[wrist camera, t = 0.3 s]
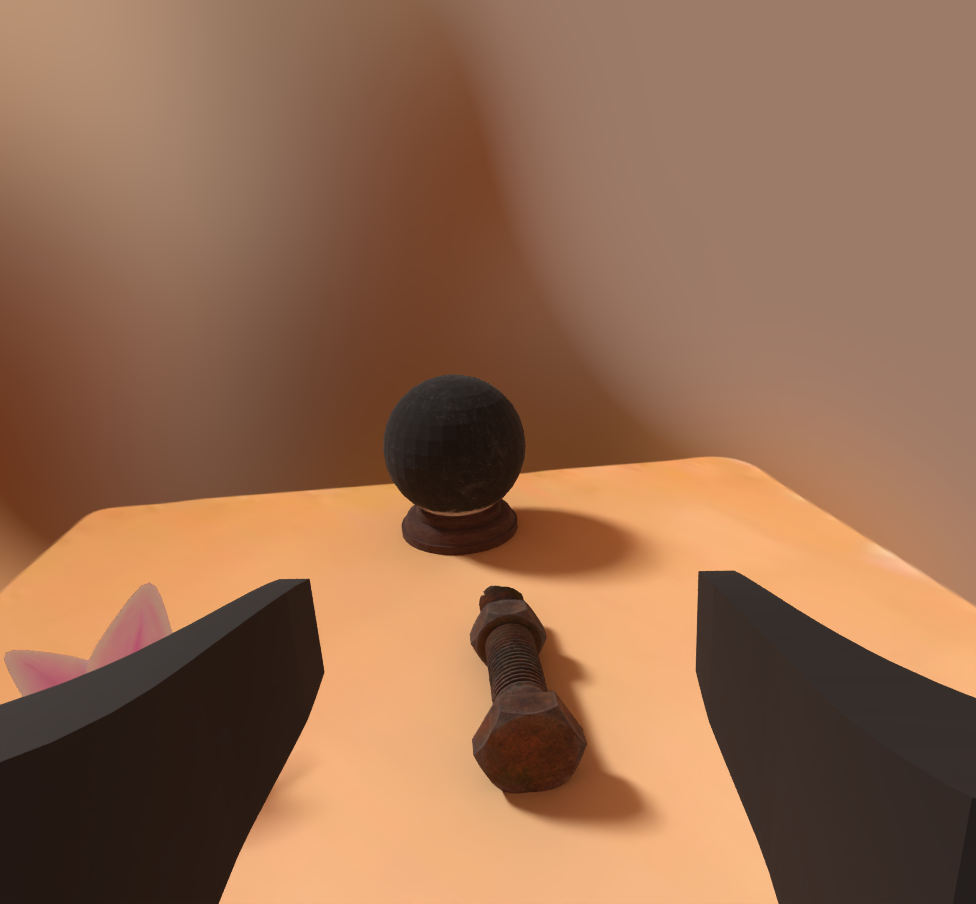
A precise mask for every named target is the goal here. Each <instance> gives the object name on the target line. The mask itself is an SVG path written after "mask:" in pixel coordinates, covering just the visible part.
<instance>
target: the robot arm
mask: <svg viewBox="0 0 976 904" xmlns="http://www.w3.org/2000/svg"><path fill="white" fill-rule="evenodd" d="M696 674H697V678H698V682H699V686H700V690H701V694H702V698H703V701H704V705H705V709H706V712H707V716H708V720H709V723H710V725H711V728H712V730H713V733H714V735H715V738H716V740H717V743H718V745H719V748H720V750H721V753H722V755H723V758H724V760H725V763H726V765H727V767H728V770H729V772H730V775H731V777H732V780H733V782H734V784H735V787H736V789H737V792H738V794H739V797H740V799H741V801H742V804H743V806H744V809H745V811H746V814H747V816H748V818H749V821H750V823H751V826H752V828H753V831H754V833H755V835H756V838H757V840H758V843H759V846H760V848H761V851H762V854H763V857H764V859H765V862H766V865H767V868H768V870H769V873H770V877H771V880H772V883H773V887H774V890H775V893H776V897H777V900H778V903H779V904H976V698H974V697H972V696H969V695H966V694H964V693H961V692H959V691H956V690H954V689H951V688H949V687H947V686H944V685H942V684H939V683H937V682H935V681H932V680H930V679H928V678H926V677H924V676H921V675H919V674H917V673H915V672H913V671H910V670H908V669H906V668H904V667H902V666H899V665H897V664H895V663H893V662H891V661H889V660H887V659H885V658H883V657H881V656H879V655H877V654H875V653H873V652H871V651H869V650H867V649H865V648H863V647H861V646H860V645H858V644H856V643H854V642H852V641H850V640H849V639H847V638H845V637H843V636H841V635H839V634H838V633H836V632H834V631H832V630H831V629H829V628H827V627H826V626H824V625H822V624H820V623H819V622H817V621H815V620H814V619H812V618H810V617H809V616H807V615H806V614H804V613H802V612H801V611H799V610H797V609H796V608H794V607H793V606H791V605H789V604H788V603H786V602H785V601H783V600H782V599H780V598H778V597H777V596H775V595H774V594H772V593H771V592H769V591H768V590H766V589H764V588H763V587H761V586H760V585H758V584H757V583H755V582H753V581H752V580H750V579H748V578H747V577H745V576H743V575H742V574H740V573H738V572H736V571H699V575H698V610H697V644H696ZM323 675H324V666H323V660H322V653H321V647H320V641H319V635H318V629H317V622H316V616H315V610H314V604H313V597H312V591H311V585H310V579H279V580H276V581H273V582H271V583H268V584H266V585H264V586H262V587H260V588H257V589H255V590H253V591H251V592H249V593H248V594H246V595H244V596H242V597H240V598H238V599H236V600H234V601H232V602H231V603H229V604H227V605H225V606H223V607H221V608H219V609H218V610H216V611H214V612H212V613H210V614H208V615H207V616H205V617H203V618H201V619H199V620H197V621H195V622H194V623H192V624H190V625H188V626H186V627H184V628H182V629H180V630H178V631H176V632H174V633H172V634H170V635H168V636H166V637H164V638H162V639H160V640H158V641H156V642H154V643H152V644H150V645H148V646H146V647H144V648H142V649H140V650H138V651H136V652H134V653H132V654H130V655H128V656H126V657H123V658H121V659H119V660H117V661H114V662H112V663H110V664H108V665H105V666H103V667H101V668H98V669H96V670H93V671H91V672H89V673H86V674H84V675H81V676H79V677H76V678H74V679H72V680H69V681H66V682H64V683H61V684H59V685H56V686H53V687H50V688H47V689H45V690H42V691H39V692H36V693H33V694H30V695H27V696H24V697H22V698H19V699H16V700H13V701H10V702H7V703H4V704H1V705H0V904H219V901H220V899H221V896H222V894H223V892H224V889H225V887H226V884H227V882H228V879H229V877H230V874H231V872H232V869H233V867H234V864H235V862H236V859H237V857H238V855H239V853H240V851H241V849H242V846H243V844H244V842H245V840H246V838H247V836H248V834H249V832H250V830H251V828H252V826H253V824H254V822H255V820H256V818H257V816H258V814H259V812H260V811H261V809H262V807H263V805H264V803H265V801H266V799H267V797H268V795H269V793H270V792H271V790H272V788H273V786H274V784H275V782H276V780H277V778H278V776H279V774H280V773H281V771H282V769H283V767H284V765H285V763H286V761H287V759H288V757H289V755H290V754H291V752H292V750H293V748H294V746H295V744H296V742H297V740H298V738H299V736H300V734H301V732H302V730H303V728H304V726H305V724H306V722H307V720H308V718H309V715H310V712H311V710H312V707H313V704H314V701H315V699H316V696H317V693H318V690H319V687H320V684H321V681H322V678H323Z"/></svg>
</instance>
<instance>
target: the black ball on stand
mask: <svg viewBox="0 0 976 904" xmlns="http://www.w3.org/2000/svg"><path fill="white" fill-rule="evenodd" d="M384 456H385V461H386V466H387V470H388V472H389V474H390V476H391V478H392V481H393V482H394V483H395V485H396V486H397V487H398V489H399V490H400V491H401V493H402V494H403V495H404V496H405V497H406V498H407V499H409V500H410V501H411V502H412V503H414V504H415V505H414V506H413V507H411V509H410V510H409V511H408V514H407V515H406V517H405V518H404V519H403V522H402V533H403V537H404V539H405V540H406V542H407V543H409V544H410V545H411V546H413V547H415V548H417V549H419V550H422V551H425V552H429V553H434V554H442V555H464V554H472V553H478V552H482V551H486V550H489V549H492V548H495V547H497V546H499V545H501V544H503V543H505V542H506V541H508V540H509V539H510V538H511V537H512V536H513V535H514V534H515V532H516V529H517V516H516V514H515V512H514V511H513V510H512V509H511V508H510V506H509V505H508V503H507V502H505V501H504V500H503V499H502V498H503V497H504V496H505V495H506V494H507V492H508V491H509V490H510V489H511V488H512V487H513V485H514V483H515V481H516V480H517V478H518V476H519V474H520V471H521V468H522V465H523V461H524V457H525V437H524V430H523V426H522V423H521V420H520V418H519V415H518V413H517V412H516V410H515V408H514V407H513V405H512V404H511V402H510V401H509V400H508V399H507V398H506V397H505V396H504V395H503V394H502V393H501V392H500V391H499V390H497V389H496V388H495V387H493V386H492V385H490V384H489V383H487V382H485V381H482V380H480V379H477V378H475V377H469V376H464V375H443V376H440V377H435V378H432V379H429V380H426V381H424V382H422V383H420V384H419V385H417V386H415V387H414V388H413V389H411V390H410V391H409V392H408V393H407V394H406V395H404V396H403V397H402V398H401V399H400V401H399V402H398V404H397V405H396V406H395V408H394V409H393V411H392V413H391V415H390V418H389V420H388V422H387V425H386V429H385V434H384Z"/></svg>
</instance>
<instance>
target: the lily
mask: <svg viewBox="0 0 976 904" xmlns="http://www.w3.org/2000/svg"><path fill="white" fill-rule="evenodd" d="M170 634H172V630H171V626H170V623H169V619H168V615H167V612H166V609H165V606H164V603H163V600H162V597H161V595H160V594H159V592H158V590H157V588H156V586H154V585H153V584H151V583H150V582H149V583H147V584H144V585H142V586H141V587H140V588H139V589H138V590H137V591H136V592H135V593H134V594H133V595H132V596H131V597H130V599H129V600H128V601H127V603H126V604H125V605H124V606H123V608H122V609H121V610H120V612H119V613H118V614H117V616H116V617H115V619H114V620H113V622H112V623H111V624H110V626H109V627H108V629H107V630H106V632H105V633H104V635H103V636H102V638H101V639H100V641H99V642H98V644H97V645H96V647H95V649H94V651H93V653H92V655H91V657H90V659H89V661H88V660H85V659H80V658H76V657H72V656H67V655H61V654H55V653H49V652H39V651H30V650H13V651H10V652H7V653H5V658H4V661H5V663H6V666H7V669H8V671H9V673H10V675H11V677H12V679H13V681H14V683H15V684H16V686H17V688H18V690H19V691H20V693H21V694H22V696H23V697H24V696H27V695H30V694H33V693H36V692H39V691H42V690H45V689H47V688H50V687H53V686H56V685H59V684H61V683H64V682H66V681H69V680H72V679H74V678H76V677H79V676H81V675H84V674H86V673H89V672H91V671H93V670H96V669H98V668H101V667H103V666H105V665H108V664H110V663H112V662H114V661H117V660H119V659H121V658H123V657H126V656H128V655H130V654H132V653H134V652H136V651H138V650H140V649H142V648H144V647H146V646H148V645H150V644H152V643H154V642H156V641H158V640H160V639H162V638H164V637H166V636H168V635H170Z"/></svg>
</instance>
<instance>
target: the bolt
mask: <svg viewBox="0 0 976 904" xmlns="http://www.w3.org/2000/svg"><path fill="white" fill-rule="evenodd" d="M484 594H485V596H484V595H483V596H481V598H480V602H479V606H480V611H481V612H480V614H479V616H478V617H477V619H476V621H475V623H474V625H473V628H472V630H471V633H470V640H471V645H472V646H473V648H474V650H475V651H476V653H477V654H478V656H479V657H480V659H481V660H482V661H483V662H484V663H485V665H486V666H487V667H488V671H489V681H490V686H491V696H492V702H493V705H492V707H491V709H490V710H489V712H488V714H487V715H486V717H485V719H484V720H483V722H482V724H481V725H480V727H479V729H478V730H477V732H476V734H475V736H474V737H473V739H472V743H473V755H474V757H475V759H476V760H477V762H478V764H479V766H480V767H481V769H482V770H483V771H484V773H485V774H486V775H487V777H488V778H489V779H490V781H491V782H492V783H493V784H494V785H495V786H496V787H497V788H499V789H501V790H503V791H507V792H512V793H526V792H538V791H545V790H549V789H552V788H554V787H557V786H559V785H561V784H563V783H564V782H565V781H567V780H568V779H569V778H570V777H571V775H572V774H573V772H574V771H575V770H576V768H577V766H578V764H579V762H580V760H581V758H582V756H583V753H584V750H585V748H586V745H587V742H586V739H585V736H584V733H583V729H582V728H581V726H580V725H579V723H578V722H577V721H576V719H575V718H574V717H573V715H572V714H571V713H570V711H569V710H568V709H567V707H566V706H565V705H564V703H563V702H562V701H561V699H560V698H559V697H558V695H557V694H556V693H555V691H549V692H548V690H547V687H546V683H545V678H544V675H543V671H542V667H541V664H540V660H539V656H538V655H539V653H540V651H541V649H542V647H543V645H544V642H545V640H546V637H547V636H546V633H545V630H544V627H543V625H542V624H541V622H540V620H539V619H538V617H537V616H536V614H535V613H534V611H533V610H532V609H531V608H530V606H529V605H528V604H527V603H526V602H525V601H524V600H523V596H522V594H521V593H519V592H518V591H516V590H515V589H513V588H510V587H500V586H490V587H488V588H487V589H486V590H485V591H484Z"/></svg>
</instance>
